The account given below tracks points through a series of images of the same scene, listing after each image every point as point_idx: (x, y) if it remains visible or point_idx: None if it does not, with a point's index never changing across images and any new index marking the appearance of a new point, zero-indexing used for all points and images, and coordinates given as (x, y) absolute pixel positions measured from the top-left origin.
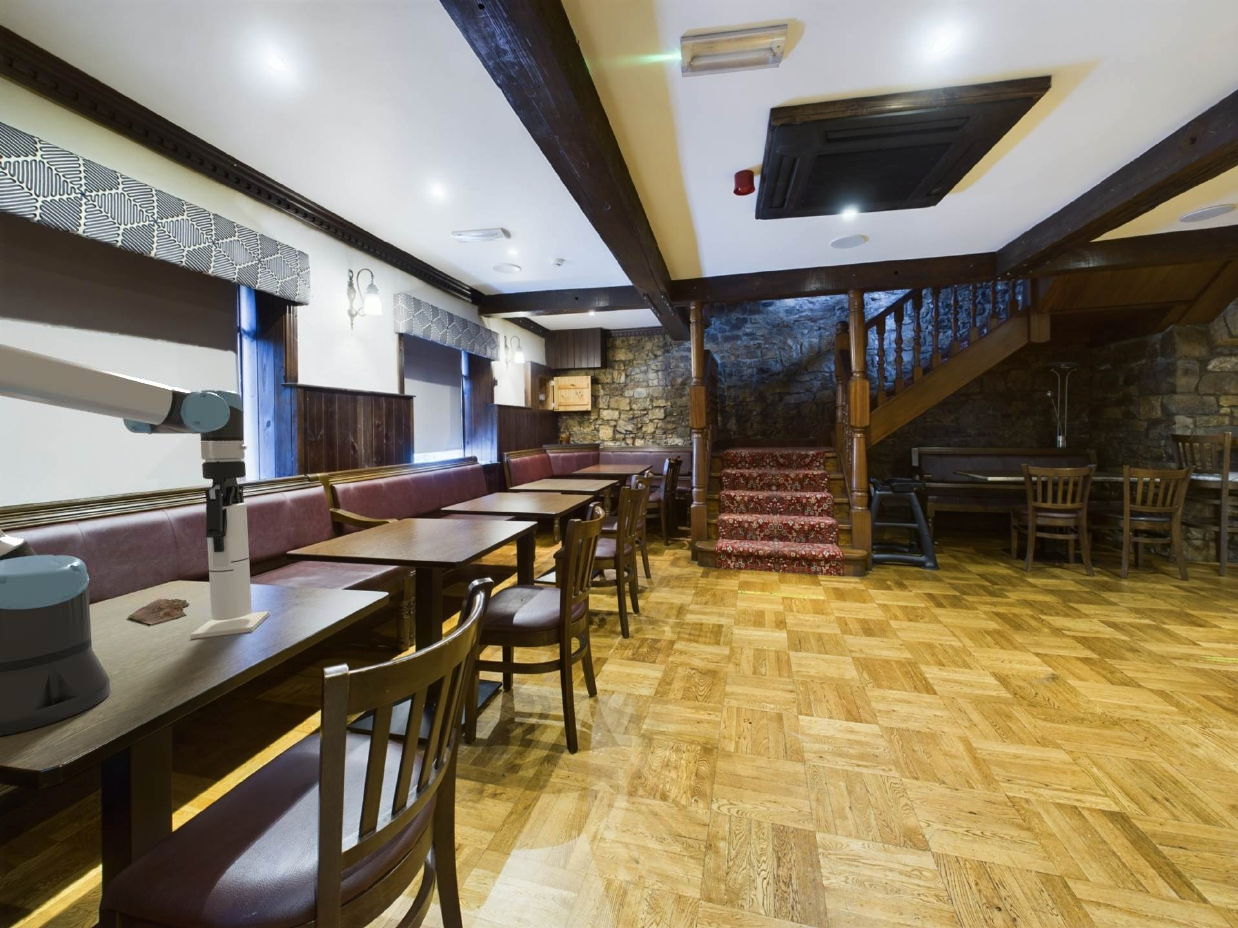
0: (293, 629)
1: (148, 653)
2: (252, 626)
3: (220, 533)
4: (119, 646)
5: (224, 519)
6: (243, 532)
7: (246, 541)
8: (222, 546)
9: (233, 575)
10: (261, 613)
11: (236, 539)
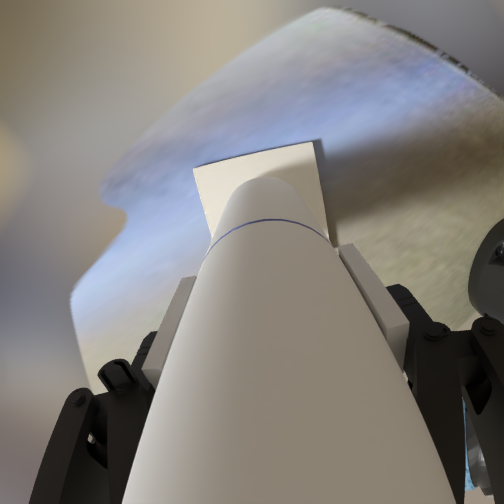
0: (310, 56)
1: (383, 275)
2: (307, 143)
3: (493, 321)
4: None
5: (461, 421)
6: (304, 292)
7: (265, 256)
8: (402, 300)
9: (318, 224)
10: (208, 177)
11: (345, 287)
